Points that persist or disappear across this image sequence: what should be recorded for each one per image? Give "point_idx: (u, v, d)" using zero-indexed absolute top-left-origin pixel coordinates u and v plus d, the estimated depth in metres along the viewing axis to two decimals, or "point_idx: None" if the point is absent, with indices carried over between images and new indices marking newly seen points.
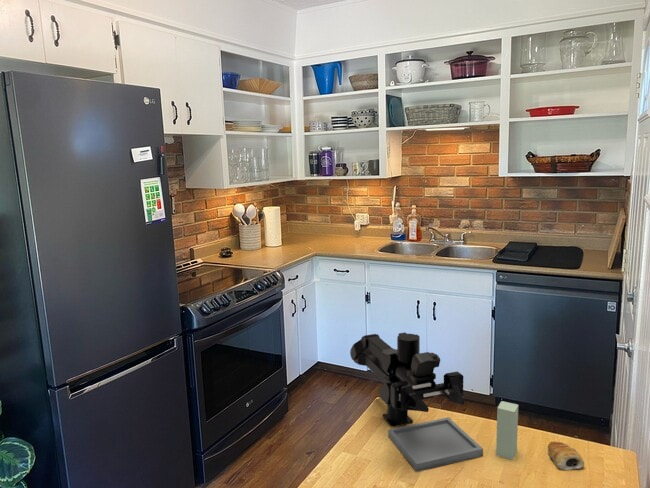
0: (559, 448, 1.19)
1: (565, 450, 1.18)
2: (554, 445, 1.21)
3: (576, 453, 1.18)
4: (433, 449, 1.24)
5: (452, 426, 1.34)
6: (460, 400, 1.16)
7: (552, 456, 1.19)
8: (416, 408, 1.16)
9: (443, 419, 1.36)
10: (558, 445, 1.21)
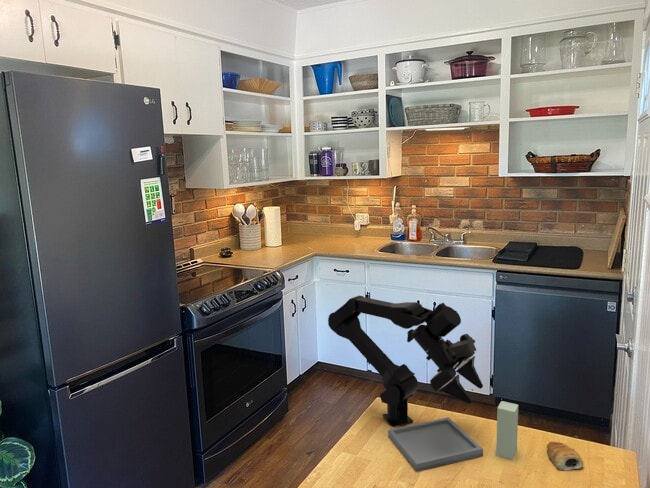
0: (558, 448, 1.19)
1: (564, 450, 1.18)
2: (553, 445, 1.21)
3: (575, 453, 1.18)
4: (433, 449, 1.24)
5: (452, 426, 1.34)
6: (479, 384, 1.29)
7: (551, 456, 1.19)
8: (457, 395, 1.22)
9: (443, 419, 1.36)
10: (557, 445, 1.21)
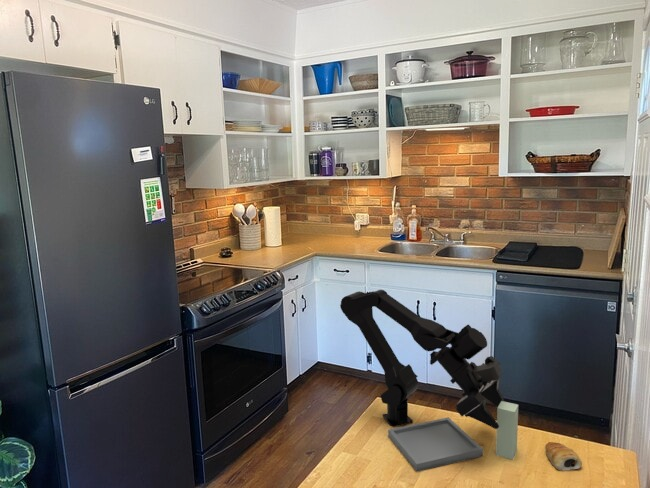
0: (557, 449, 1.19)
1: (562, 450, 1.18)
2: (552, 446, 1.21)
3: (574, 453, 1.18)
4: (433, 449, 1.24)
5: (452, 426, 1.34)
6: None
7: (550, 457, 1.19)
8: (483, 421, 1.19)
9: (443, 419, 1.36)
10: (556, 446, 1.21)
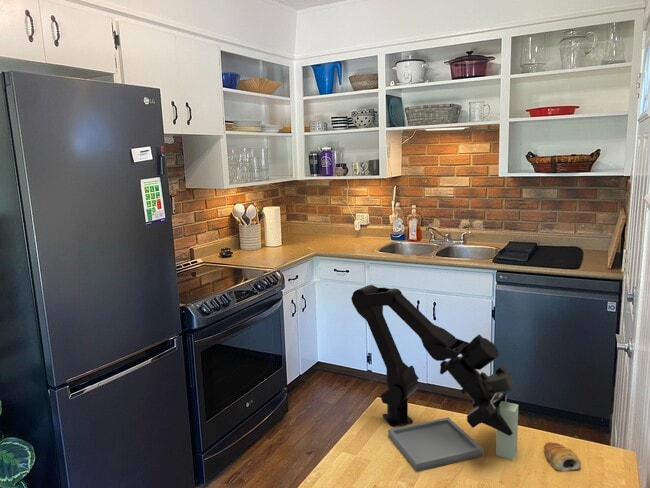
0: (556, 449, 1.19)
1: (561, 450, 1.18)
2: (550, 446, 1.21)
3: (573, 454, 1.17)
4: (433, 449, 1.24)
5: (452, 426, 1.34)
6: None
7: (549, 457, 1.19)
8: (497, 427, 1.20)
9: (443, 419, 1.36)
10: (554, 446, 1.21)
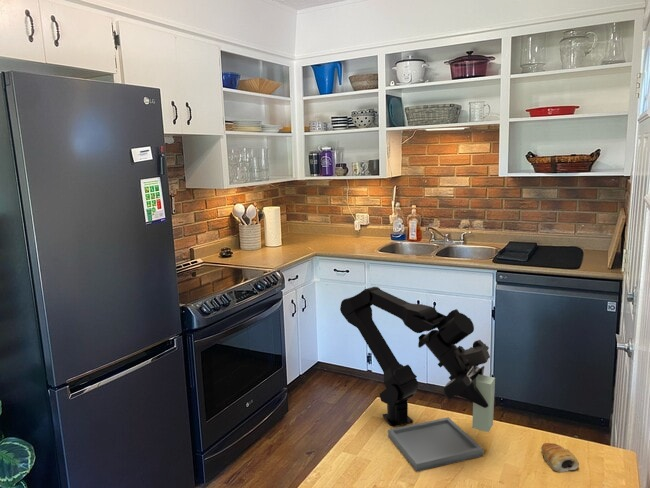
0: (554, 450, 1.19)
1: (559, 451, 1.18)
2: (548, 447, 1.21)
3: (571, 454, 1.17)
4: (433, 449, 1.24)
5: (452, 426, 1.34)
6: None
7: (547, 458, 1.19)
8: (473, 400, 1.20)
9: (443, 419, 1.36)
10: (552, 447, 1.20)
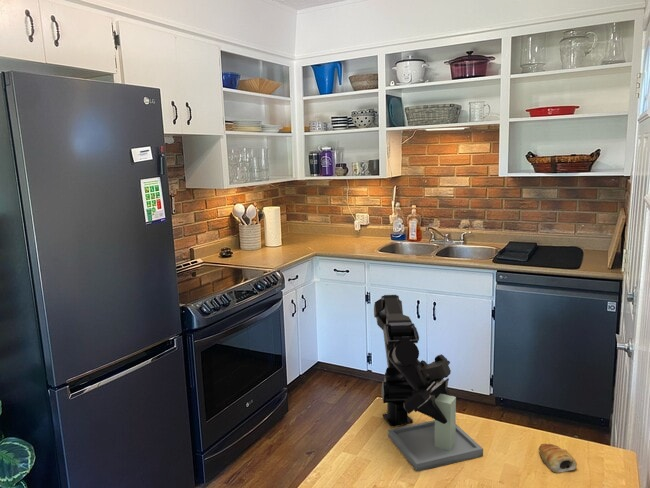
0: (551, 450, 1.18)
1: (557, 452, 1.17)
2: (546, 447, 1.21)
3: (568, 455, 1.17)
4: (433, 449, 1.24)
5: None
6: None
7: (545, 459, 1.18)
8: (432, 416, 1.22)
9: None
10: (550, 447, 1.20)
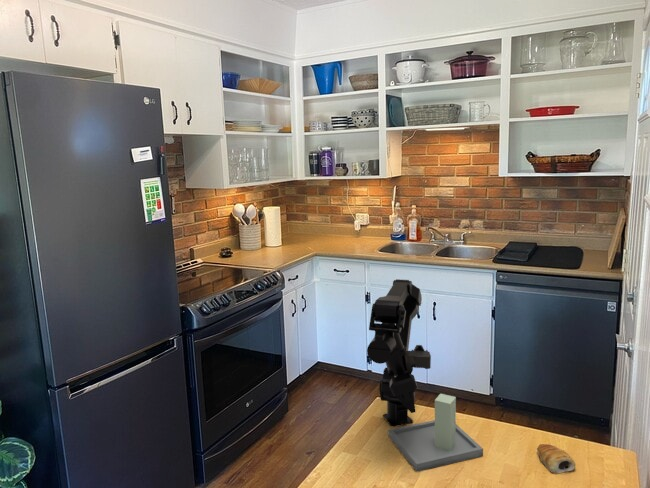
0: (550, 451, 1.18)
1: (556, 452, 1.17)
2: (544, 448, 1.20)
3: (567, 455, 1.17)
4: (433, 449, 1.24)
5: None
6: None
7: (544, 460, 1.18)
8: (405, 403, 1.22)
9: None
10: (548, 448, 1.20)
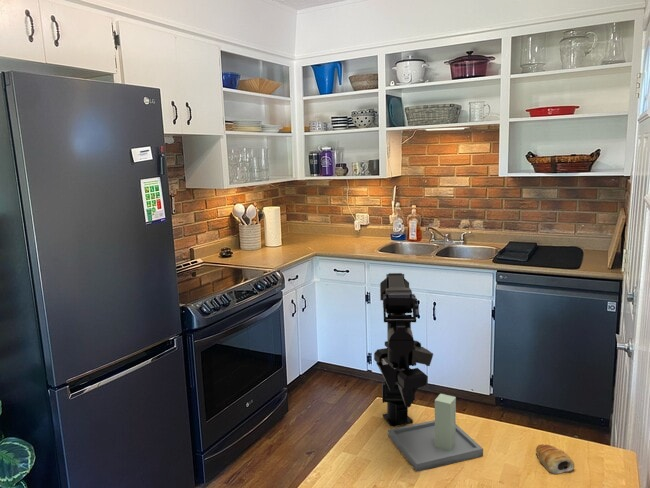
0: (549, 451, 1.18)
1: (555, 453, 1.17)
2: (543, 448, 1.20)
3: (566, 455, 1.17)
4: (433, 449, 1.24)
5: None
6: (392, 387, 1.30)
7: (543, 460, 1.18)
8: (405, 397, 1.20)
9: None
10: (547, 448, 1.20)
